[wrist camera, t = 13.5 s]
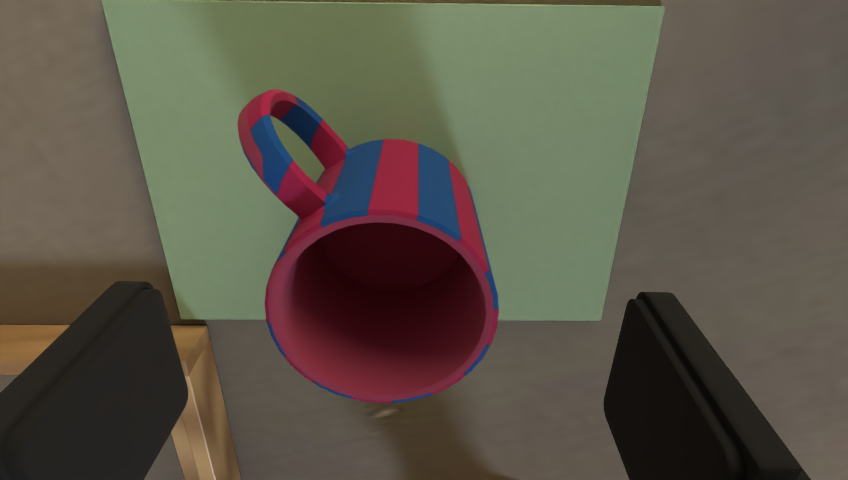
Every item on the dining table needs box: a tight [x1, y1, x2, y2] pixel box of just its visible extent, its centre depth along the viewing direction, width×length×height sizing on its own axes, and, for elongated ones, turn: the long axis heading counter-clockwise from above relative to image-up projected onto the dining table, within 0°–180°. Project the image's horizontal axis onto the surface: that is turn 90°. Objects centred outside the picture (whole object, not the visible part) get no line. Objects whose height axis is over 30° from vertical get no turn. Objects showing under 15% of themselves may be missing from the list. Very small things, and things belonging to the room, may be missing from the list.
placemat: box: [101, 0, 665, 321], centre depth 20 cm, size 13×19×1 cm
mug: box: [237, 89, 499, 403], centre depth 17 cm, size 7×10×7 cm
